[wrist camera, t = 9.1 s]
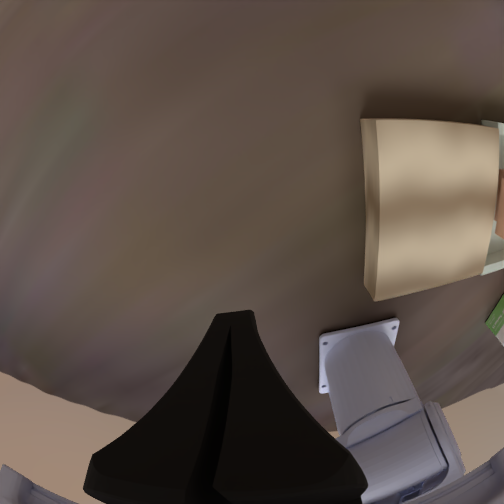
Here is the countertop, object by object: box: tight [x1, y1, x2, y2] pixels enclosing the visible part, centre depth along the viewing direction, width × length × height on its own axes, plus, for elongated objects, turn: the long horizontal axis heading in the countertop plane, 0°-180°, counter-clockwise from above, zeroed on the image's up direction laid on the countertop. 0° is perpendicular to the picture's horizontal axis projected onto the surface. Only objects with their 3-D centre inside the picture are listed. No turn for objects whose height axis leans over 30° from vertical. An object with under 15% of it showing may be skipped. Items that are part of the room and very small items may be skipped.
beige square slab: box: [360, 118, 499, 302], centre depth 18 cm, size 13×12×2 cm
